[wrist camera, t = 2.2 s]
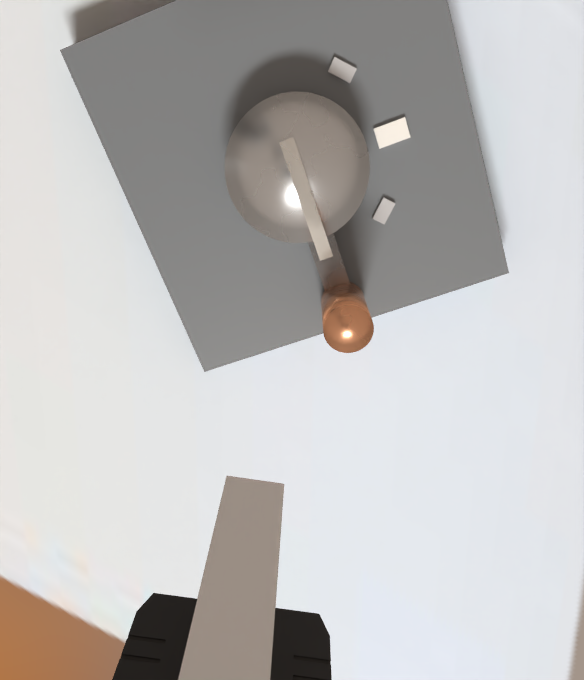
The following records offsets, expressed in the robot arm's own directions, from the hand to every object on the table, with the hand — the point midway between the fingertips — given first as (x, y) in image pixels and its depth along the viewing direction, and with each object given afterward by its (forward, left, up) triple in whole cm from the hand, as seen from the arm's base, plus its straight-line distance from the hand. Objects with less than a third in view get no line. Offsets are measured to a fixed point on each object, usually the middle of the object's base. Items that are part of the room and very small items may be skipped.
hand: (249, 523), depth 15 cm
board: (-7, +3, -20) cm, 21 cm away
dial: (-4, +4, -18) cm, 19 cm away
